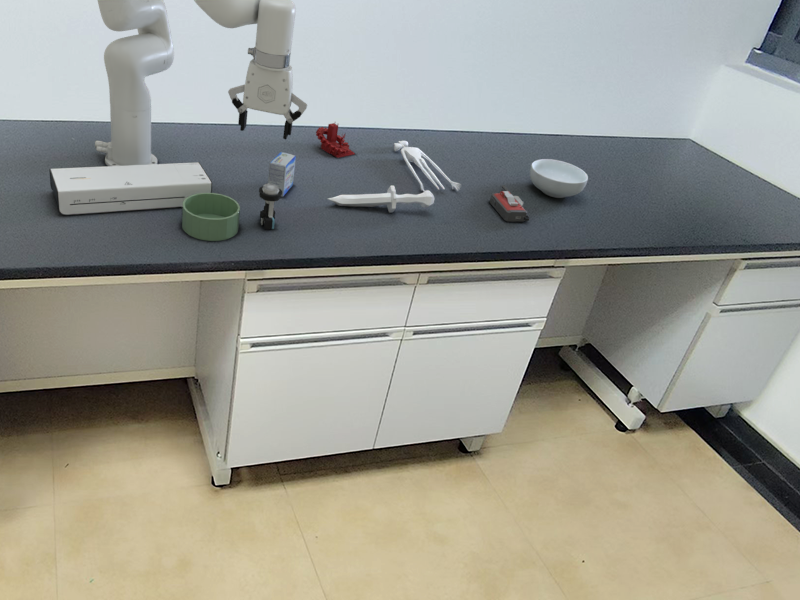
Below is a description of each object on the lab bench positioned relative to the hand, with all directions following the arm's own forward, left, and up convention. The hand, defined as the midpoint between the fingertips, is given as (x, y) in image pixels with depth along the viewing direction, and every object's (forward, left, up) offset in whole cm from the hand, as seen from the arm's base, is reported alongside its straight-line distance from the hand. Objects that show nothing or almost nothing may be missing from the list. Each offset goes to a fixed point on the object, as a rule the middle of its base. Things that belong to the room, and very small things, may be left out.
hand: (264, 132), depth 173 cm
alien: (+39, +44, -22) cm, 63 cm away
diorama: (+14, +47, -22) cm, 53 cm away
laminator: (-29, -2, -22) cm, 36 cm away
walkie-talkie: (+64, +30, -22) cm, 74 cm away
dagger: (+29, +14, -22) cm, 39 cm away
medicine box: (+3, +16, -22) cm, 27 cm away
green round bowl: (-9, -9, -21) cm, 25 cm away
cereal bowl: (+80, +46, -22) cm, 95 cm away
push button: (+3, -3, -22) cm, 22 cm away
